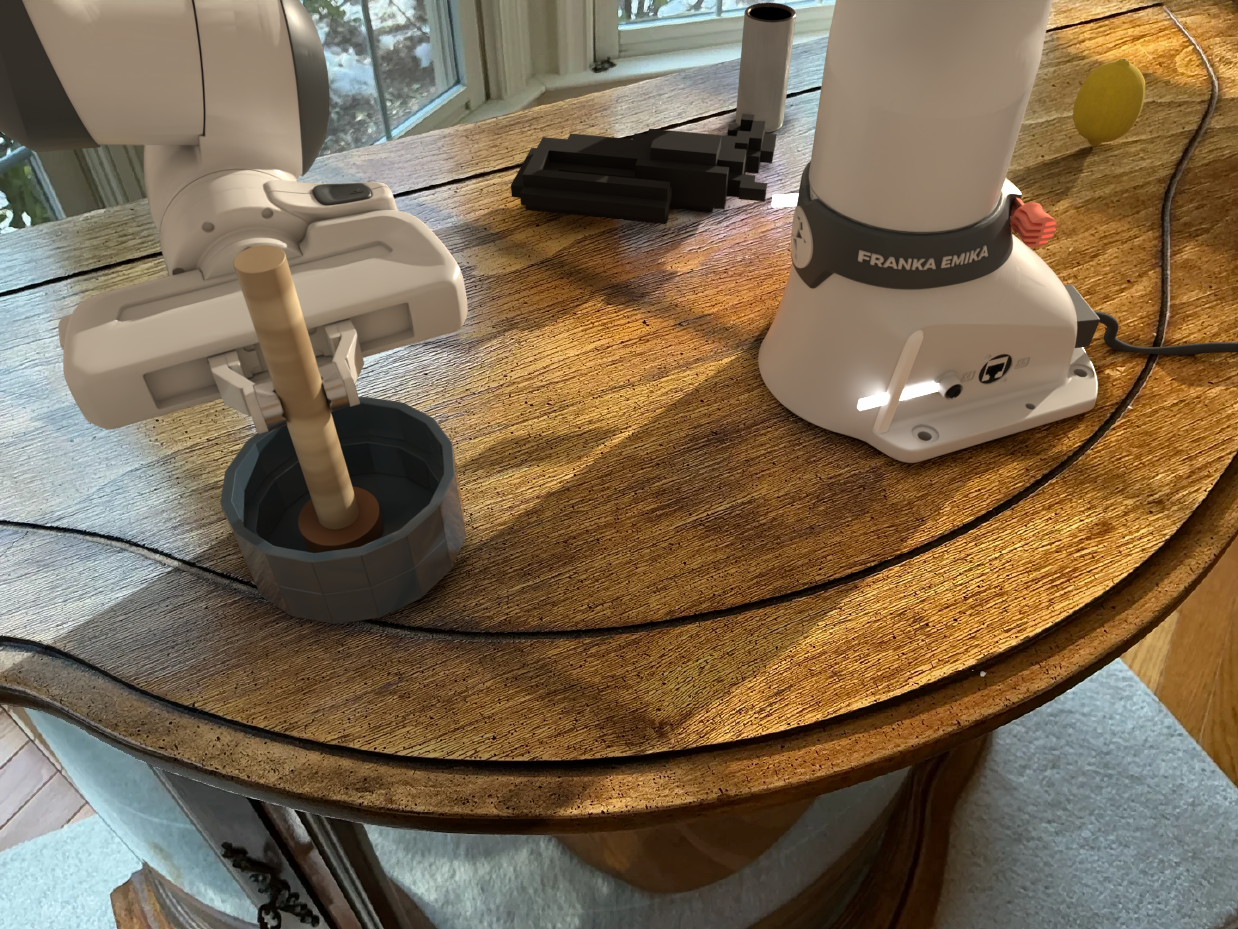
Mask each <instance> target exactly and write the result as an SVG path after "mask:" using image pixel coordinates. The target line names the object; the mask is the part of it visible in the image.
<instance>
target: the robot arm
mask: <svg viewBox="0 0 1238 929" xmlns="http://www.w3.org/2000/svg"><path fill="white" fill-rule="evenodd" d="M1052 6H1053V0H835V2H834V9H833V14H832V19H831V23H830V27H829V33H828V37H827V38H828V40H827V45H826V46H827V47H826V50H825V52H826V53H825V58H824V65H823V72H822V79H821V85H820V86H821V87H820V94H819V101H818V107H817V114H816V120H815V122H816V123H815V129H814V135H813V141H812V142H813V143H812V150H811V157H810V160H809V161H808V162H807V163H806V165H805V167H804V168H803V170H802V173H801V178H800V183H799V190H798V193H785V194H782V193H781V194H772V199H771V207H772V208H784V207H794V211H793V216H792V225H791V234H790V258H791V259H790V260H791V265H790V270H789V274H788V276H787V281H786V284H785V287H784V289H783V290H784V291H783V294H782V297H781V299H780V302H779V306H778V308H777V310H776V314H775V316H774V318H773V321H772V323H771V324H770V327H769V329H768V331H767V333H766V334H765V337H764V339H763V340H762V342H761V344H760V347H759V351H758V356H757V357H758V358H757V361H758V371H759V373H760V376H761V378H762V381H763V383H764V385H765V387H766V388H767V390H769V392H770V393H771V395H772V396H773V397H774V398H775V399H776V400H777V401H778V402H779V403H780V404H782V406H784V407H785V408H786V409H787V410H789V411H790V412H792V414H795V416H798V417H799V418H801V419H803V420H805V421H806V422H809V423H810V424H812V425H815V426H817V427H819V428H822V429H825V430H827V431H830V432H834V433H837V434H841V435H844V436H848V437H850V438H854V439H856V440H857V439H858V440H860V441H862V442H865V443H867V444H869V445H870V446H872V447H873V448H875V449H876V450H878V451H880V452H881V453H883V454H884V455H886V456H888V457H890V458H892V459H893V460H896V461H898V462H901V463H907V464H916V463H919V462H924V461H927V460H930V459H934V458H937V457H940V456H944V455H946V454H947V455H948V454H950V453H954V452H957V451H960V450H964V449H967V448H970V447H974V446H977V445H980V444H984V443H987V442H990V441H995V440H997V439H1001V438H1004V437H1007V436H1011V435H1014V434H1017V433H1021V432H1024V431H1027V430H1030V429H1034V428H1038V427H1041V426H1043V425H1044V426H1045V425H1047V424H1050V423H1054V422H1058V421H1061V420H1064V419H1067V418H1071V417H1075V416H1077V415H1080V414H1083V413H1084V414H1085V413H1086V412H1089V411H1092V410H1093V409H1094V407H1095V404H1096V402H1097V397H1098V394H1099V393H1098V392H1099V382H1098V381H1099V380H1098V375H1097V373H1096V370H1095V367H1094V364H1093V361H1092V360H1091V358H1090V357H1089V355H1088V352H1086V350H1085V348H1089V347H1090V345H1091V344H1092V341H1093V338H1094V336H1095V334H1096V331H1097V329H1098V327H1099V324H1102V325H1104V326H1105V327H1106V329H1105V331H1104V335H1103V341H1104V343H1105V345H1106V346H1107V347H1108V348H1110V349H1112V350H1114V351H1115V352H1119V353H1126V354H1128V353H1129V354H1133V353H1134V354H1149V355H1162V356H1182V357H1183V356H1192V355H1202V354H1203V355H1204V354H1219V353H1221V354H1222V353H1223V354H1224V353H1227V354H1228V353H1229V354H1230V353H1237V354H1238V341H1215V342H1201V343H1189V344H1181V345H1170V346H1169V345H1167V346H1153V347H1151V346H1138V345H1133V344H1129V343H1127V342H1124V341H1122V340H1120V339H1119V338H1118V337H1117V334H1118V332H1119V329H1120V325H1119V324H1120V323H1119V322H1118V320H1117V319H1116V318H1115V316H1113V315H1111V314H1110V313H1106V312H1103V311H1099V310H1093V308H1092V307H1091V306H1090V305H1089V303H1088V302H1087V301H1086V300H1085V299H1084V297H1083V296H1082V295H1081V294H1080V292H1079V291H1078V289H1077V288H1076V287H1075V286H1074V285H1073V284H1064V283H1063V282H1062V280H1061V279H1060V278H1059V276H1058V275H1057V274H1056V273H1055V272H1054V270H1053V269H1052V268H1051V267H1050V266H1049V265H1048V263H1047V262H1046V261H1045V260H1044V259H1042V258H1041V257H1040V256H1039V255H1038V254H1037V253H1036V252H1035V251H1034V250H1033V249H1034V248H1039V247H1042V246H1044V245H1046V244H1047V243H1048V240H1052V239H1053V238H1054V234H1055V233H1056V232H1057V227H1058V224H1057V222H1056V220H1055V219H1054V217H1052V216H1051V215H1050V214H1049V213H1047V212H1045V209H1044V207H1043V205H1042V204H1040V203H1039V202H1027V203H1024V201H1023V200H1022V197H1023V193H1022V192H1021V190H1020V189H1019V188H1018V187H1017V186H1016V185H1015V184H1014V183H1013V182H1012V181H1011V180H1010V179H1009V178H1007V175H1008V172H1009V169H1010V165H1011V162H1012V159H1013V155H1014V152H1015V148H1016V146H1017V141H1018V138H1019V135H1020V132H1021V128H1022V125H1023V121H1024V118H1025V115H1026V112H1027V109H1028V104H1029V102H1030V99H1031V95H1032V92H1033V88H1034V85H1035V82H1036V78H1037V75H1038V71H1039V67H1040V64H1041V62H1042V61H1041V60H1042V56H1043V49H1044V44H1045V39H1046V35H1047V34H1046V33H1047V29H1048V24H1049V20H1050V19H1049V18H1050V15H1051V10H1052ZM328 70H329V69H328V64H327V60H326V55H325V50H324V47H323V44H322V40H321V38H320V34H319V31H318V29H317V27H316V24H315V22H314V20H313V18H312V16H311V14H310V13H309V12H308V10H307V9H306V7H305V5H304V4H303V3H302V1H301V0H0V133H2V134H3V135H5V136H6V137H8V138H9V139H11V140H13V141H14V142H16V143H17V144H19V145H21V146H23V147H25V148H27V149H29V150H31V151H33V152H34V153H48V152H59V151H61V152H62V151H73V150H74V151H75V150H84V149H96V148H97V149H99V148H101V146H143V177H144V178H143V179H144V187H145V194H146V199H147V203H148V207H149V211H150V215H151V218H152V221H153V223H154V226H155V227H156V229H157V231H158V233H159V234H158V237H159V246H160V250H161V254H162V257H163V260H164V261H163V262H164V264H165V268H166V272H167V275H168V276H164V277H160V278H156V279H152V280H147V281H143V282H140V283H135V284H132V285H128V286H124V287H120V288H115V289H112V290H108V291H104V292H100V293H97V294H95V295H93V296H90V297H88V298H86V299H84V300H83V301H82V302H80V303H79V304H78V305H77V306H76V307H75V308H74V309H73V311H72V313H70V314H67V315H65V316H63V317H62V318H60V319H59V321H58V324H57V325H58V326H57V327H58V328H57V329H58V330H57V331H58V338H59V345H60V346H59V347H60V348H61V350H62V351H63V352H62V354H63V356H62V365H63V366H62V369H63V377H64V380H65V382H66V385H67V387H68V390H69V392H70V394H71V396H72V398H73V400H74V402H75V404H76V406H77V407H78V409H79V411H80V412H81V414H82V416H83V417H84V418H85V420H86V421H87V422H88V423H89V424H92V425H94V426H96V427H98V428H101V429H103V430H109V431H110V430H115V429H121V428H124V427H127V426H131V425H133V424H138V423H141V422H143V421H144V422H145V421H147V420H151V419H155V418H158V417H162V416H165V415H169V414H172V413H176V412H179V411H182V410H186V409H189V408H193V407H196V406H200V405H203V404H206V403H210V402H214V401H217V400H222V403H223V404H224V406H227V407H229V408H231V409H233V410H235V411H237V412H239V413H241V414H244V415H245V416H247V417H251V419H252V421H253V425H254V427H255V429H256V434H257V433H258V435H259V434H262V433H265V432H268V431H271V430H275V429H278V428H281V427H284V426H287V425H288V424H287V421H286V418H285V415H284V411H283V409H282V406H281V403H280V400H279V397H278V395H277V393H276V391H275V388H274V385H273V382H272V379H271V376H270V373H269V370H268V367H267V364H266V361H265V358H264V355H263V352H262V349H261V346H260V343H259V340H258V337H257V334H256V331H255V328H254V326H253V323H252V320H251V317H250V314H249V311H248V308H247V305H246V302H245V299H244V296H243V293H242V290H241V287H240V284H239V281H238V278H237V275H236V272H235V269H234V266H233V261H234V259H235V257H236V256H237V255H238V254H239V253H240V252H242V251H244V250H246V249H248V248H251V247H254V246H260V245H272V246H276V247H279V248H281V249H282V250H283V251H284V252H285V254H286V258H287V261H288V265H289V268H290V272H291V275H292V279H293V282H294V286H295V289H296V293H297V296H298V300H299V303H300V307H301V310H302V314H303V317H304V321H305V324H306V327H307V331H308V334H309V338H310V341H311V345H312V348H313V352H314V355H315V359H316V362H317V366H318V369H319V373H320V376H321V380H322V384H323V388H324V391H325V394H326V398H327V402H328V405H329V408H330V411H331V412H333V411H337V410H340V409H343V408H347V407H351V406H355V405H358V404H360V401H359V397H360V396H359V394H358V390H357V386H356V383H357V381H358V378H359V376H360V374H361V372H362V370H363V367H364V366H365V362H364V359H365V358H368V357H371V356H374V355H379V354H382V353H385V352H389V351H393V350H395V349H399V348H402V347H407V346H410V345H413V344H416V343H419V342H420V343H421V342H424V341H426V340H427V341H428V340H430V339H431V340H432V339H434V338H437V337H441V336H445V335H448V334H449V335H450V334H452V333H455V332H457V331H459V330H461V329H462V327H463V325H464V324H465V321H466V320H467V317H468V314H469V306H468V297H467V290H466V285H465V280H464V276H463V272H462V270H461V267H460V265H459V263H458V262H457V260H456V259H455V257H454V256H453V255H452V252H450V250H449V249H448V248H447V247H446V245H445V243H443V241H441V239H440V238H439V236H438V235H436V234H435V232H433V230H432V229H431V227H429V226H428V225H427V224H426V223H424V222H423V220H421V219H420V218H419V217H417V216H415V215H414V214H411V213H409V212H405V211H402V210H399V208H398V205H397V203H396V199H395V197H394V194H393V192H392V189H391V188H390V186H388V185H387V184H386V183H384V182H380V181H360V182H342V183H340V182H339V183H319V182H316V183H315V182H304V181H298V179H299V177H305V175H306V174H307V173H308V172H309V170H310V169H311V168H312V166H313V165H314V163H315V161H316V159H317V157H318V156H319V154H320V152H321V150H322V148H323V146H324V144H325V142H326V137H327V132H328V126H329V120H330V119H329V117H330V100H331V98H330V96H331V95H330V82H329V79H330V78H329V71H328ZM1013 232H1015V233H1017V234H1018V236H1019V238H1020V239H1019V238H1018V237H1017V236H1016V235H1014V234H1013ZM1031 248H1033V249H1031ZM267 428H268V429H267Z"/></svg>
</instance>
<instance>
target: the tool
mask: <svg viewBox="0 0 1238 929" xmlns="http://www.w3.org/2000/svg"><path fill="white" fill-rule="evenodd" d="M765 122H766V121H755V120H754V115H752V114H742V117H741V124H740V125H737V124H730V123H729V124H728V126H727V133H726V134H727V135H725V134H714V133H703V132H693V131H692V132H691V131H690V132H689V131H682V130H671V129H670V130H669V129H660V128H659V129H658V128H649V129H648V131H647V133H638V132H637V133H634V134H633V135H632V138H626V137H625V138H624V137H613V136H601V135H591V134H583V133H582V134H580V133H570V134H569V135H568V137H567V138H558V137H549V136H548V137H547V136H542V137H541V139H540V141H539V143H538V145H537V147H531V148H530V150H529V151H528V153H527V155H526V156H525V158H524V160H523V162H522V164H521V165H520V167H519V169H518V171H517V173H516V175H515V177H514V178H513V180H512V182H511V184H510V193H511V198H517V199H520V206H524V209H525V211H529V212H531V211H532V212H540V213H541V212H542V213H548V214H549V213H550V214H559V215H570V216H579V217H589V218H598V219H609V220H617V221H619V220H620V221H627V222H634V223H635V222H636V223H646V224H655V225H656V224H657V225H664V226H667V224H668V222H669V218H670V210H677V211H678V210H680V211H689V212H698V213H699V212H701V213H708V214H713V213H714V210H725V209H726V204H727V197H731V198H738V200H744V201H754V202H763V203H765V202H766V197H767V190H768V183H767V182H759V181H756V176H757V175H754V174H758V175H759V174H760V173H759V172H760V168H761V163H764V164H773V161H774V156H775V151H776V150H775V149H776V142H777V136H778V134H777V133H770V132H767V133H765V128H766V127H765ZM746 173H748V174H746Z"/></svg>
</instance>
